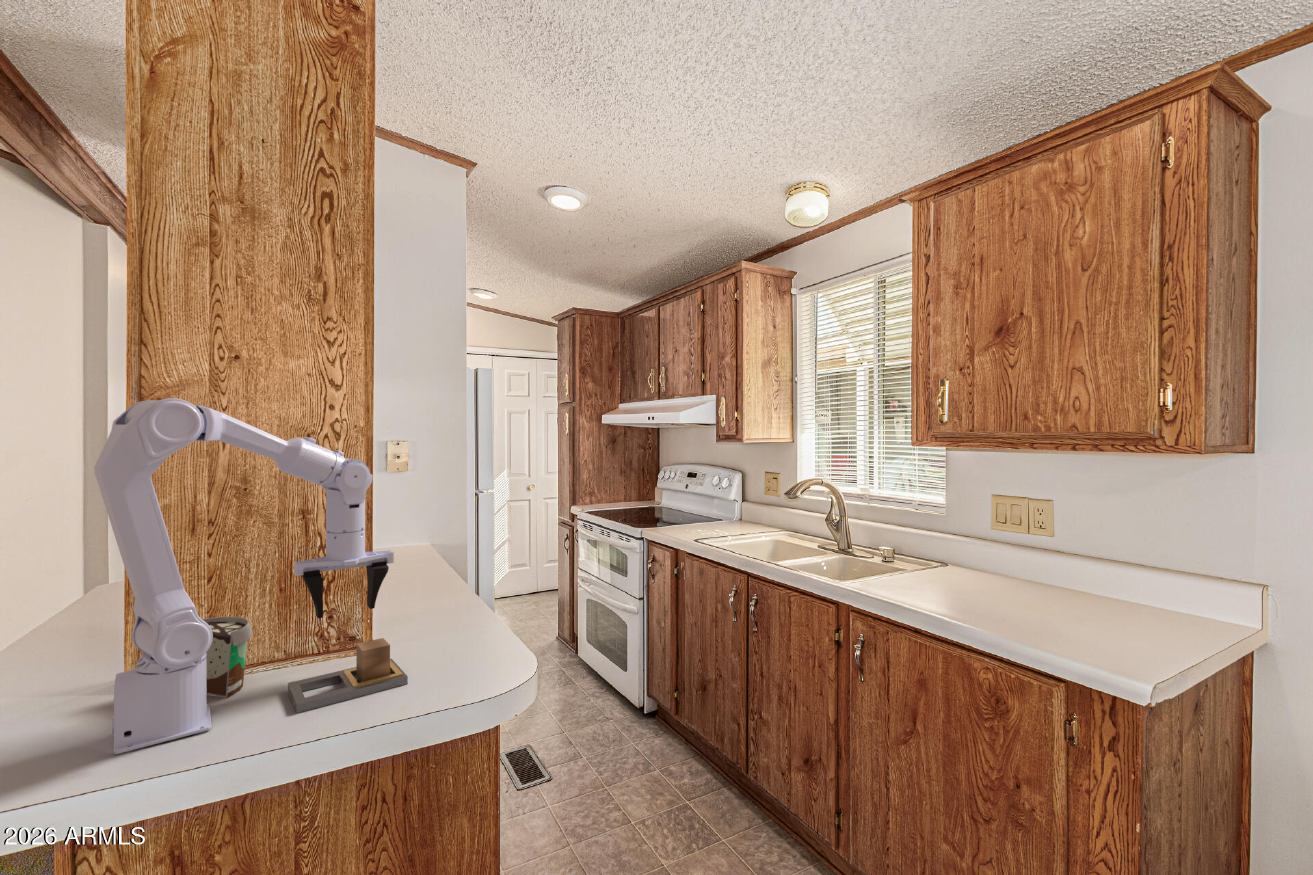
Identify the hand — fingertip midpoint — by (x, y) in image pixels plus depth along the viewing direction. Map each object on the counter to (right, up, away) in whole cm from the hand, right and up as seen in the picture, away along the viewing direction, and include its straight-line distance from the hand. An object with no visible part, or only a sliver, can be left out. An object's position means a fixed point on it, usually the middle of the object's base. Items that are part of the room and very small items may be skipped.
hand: (345, 611), depth 95 cm
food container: (-16, -10, -6) cm, 20 cm away
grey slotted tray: (+4, -10, -6) cm, 12 cm away
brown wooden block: (+6, -10, -4) cm, 13 cm away
